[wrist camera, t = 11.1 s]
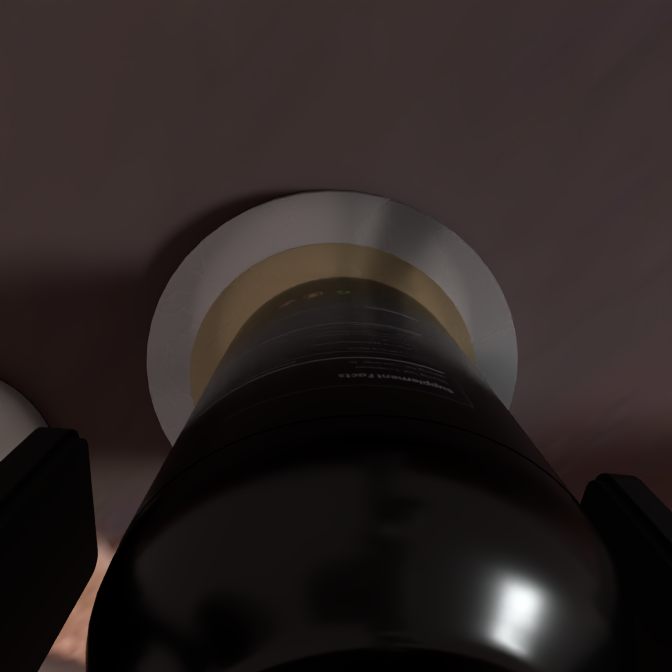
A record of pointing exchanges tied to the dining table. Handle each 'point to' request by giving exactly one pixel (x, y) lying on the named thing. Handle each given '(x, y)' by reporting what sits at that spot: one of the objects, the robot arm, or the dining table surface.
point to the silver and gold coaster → (315, 263)
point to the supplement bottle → (357, 515)
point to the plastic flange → (16, 419)
